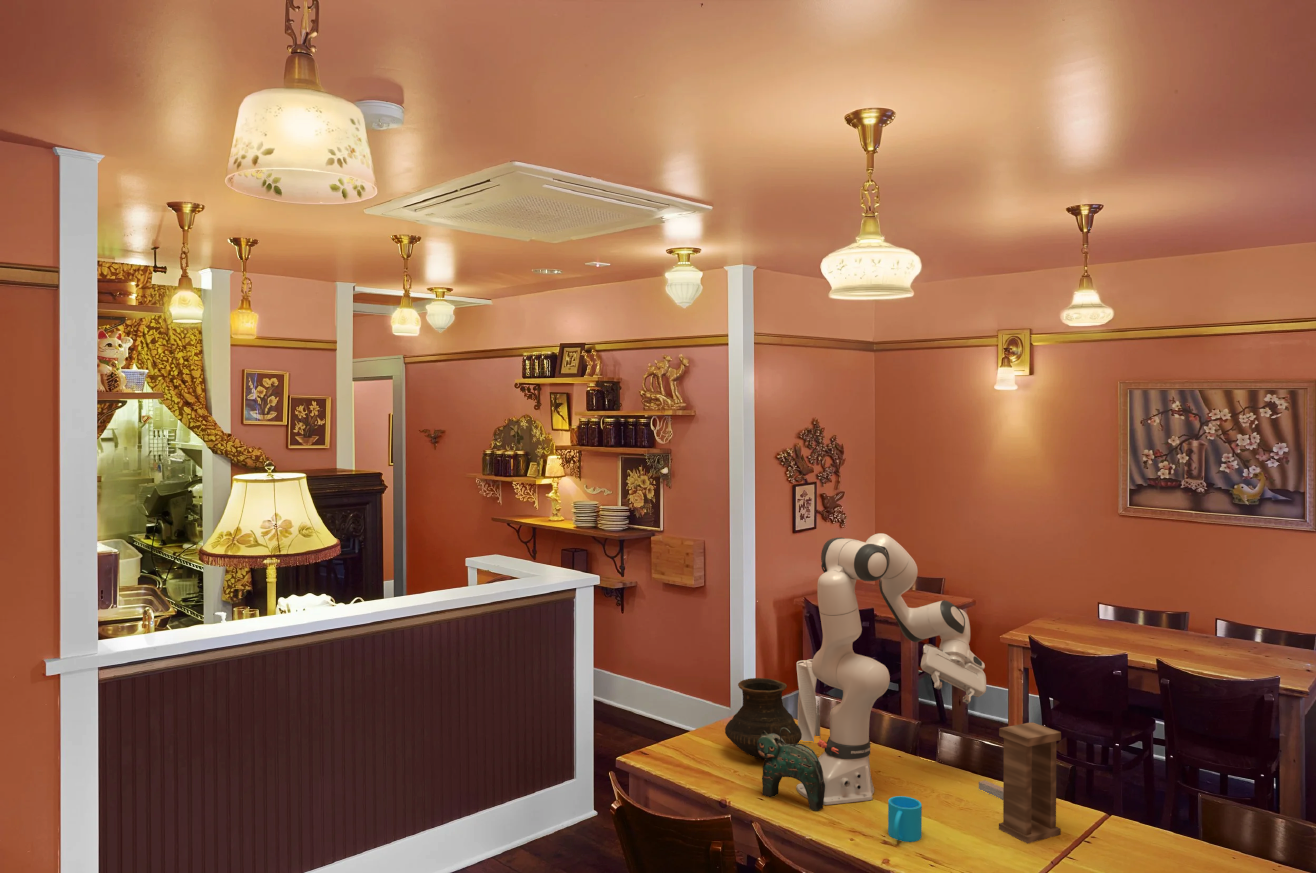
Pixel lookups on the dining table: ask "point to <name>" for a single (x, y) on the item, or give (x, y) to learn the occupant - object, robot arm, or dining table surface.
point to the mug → (905, 819)
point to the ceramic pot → (761, 716)
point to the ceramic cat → (791, 767)
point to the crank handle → (991, 789)
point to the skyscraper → (807, 702)
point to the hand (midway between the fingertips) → (952, 694)
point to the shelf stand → (1029, 782)
